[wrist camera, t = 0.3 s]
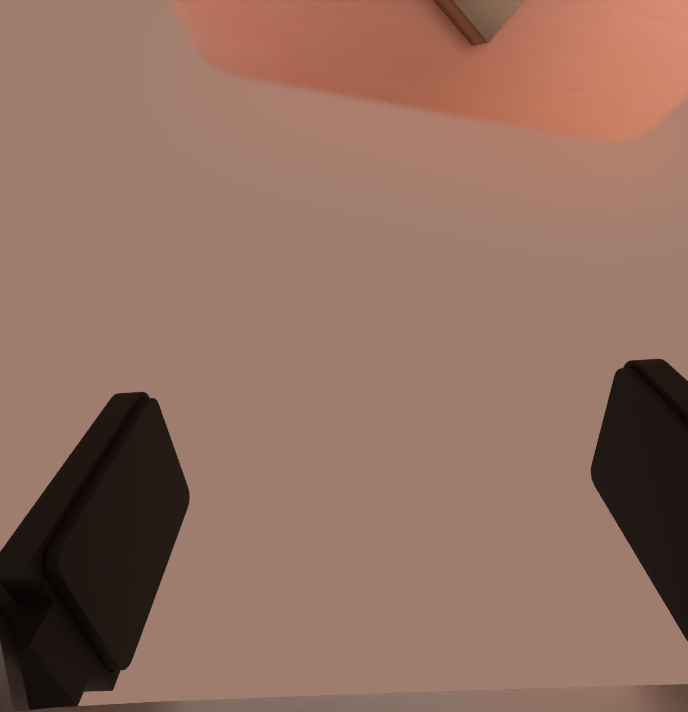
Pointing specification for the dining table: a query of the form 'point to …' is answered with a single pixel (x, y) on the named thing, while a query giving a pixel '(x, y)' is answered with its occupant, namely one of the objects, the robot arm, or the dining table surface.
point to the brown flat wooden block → (479, 16)
